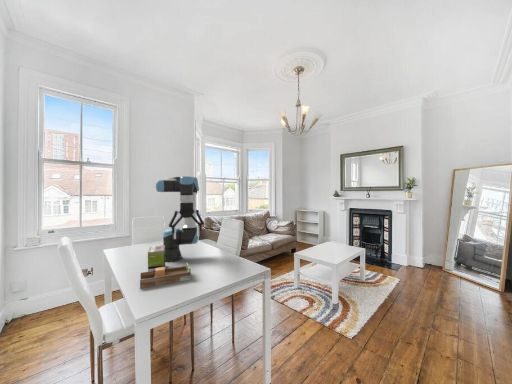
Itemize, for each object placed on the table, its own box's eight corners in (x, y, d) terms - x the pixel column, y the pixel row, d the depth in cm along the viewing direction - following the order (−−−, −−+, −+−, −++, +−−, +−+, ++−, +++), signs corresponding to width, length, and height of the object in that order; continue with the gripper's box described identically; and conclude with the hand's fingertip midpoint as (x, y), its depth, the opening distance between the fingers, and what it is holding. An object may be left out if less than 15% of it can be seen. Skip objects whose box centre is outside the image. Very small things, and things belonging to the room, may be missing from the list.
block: (155, 274, 133) (155, 268, 132) (164, 273, 135) (164, 266, 135) (155, 277, 128) (155, 270, 128) (164, 276, 130) (164, 269, 130)
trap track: (140, 280, 130) (140, 269, 130) (187, 272, 142) (187, 262, 142) (140, 288, 120) (139, 276, 120) (190, 279, 132) (190, 268, 132)
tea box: (150, 267, 152) (149, 246, 152) (165, 265, 156) (165, 244, 156) (147, 275, 138) (147, 251, 138) (164, 272, 142) (164, 250, 142)
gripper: (165, 203, 121) (165, 241, 122) (208, 202, 133) (208, 236, 134) (163, 202, 128) (163, 238, 128) (205, 201, 140) (205, 234, 140)
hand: (186, 237), depth 131 cm, fingers open, 13 cm apart
